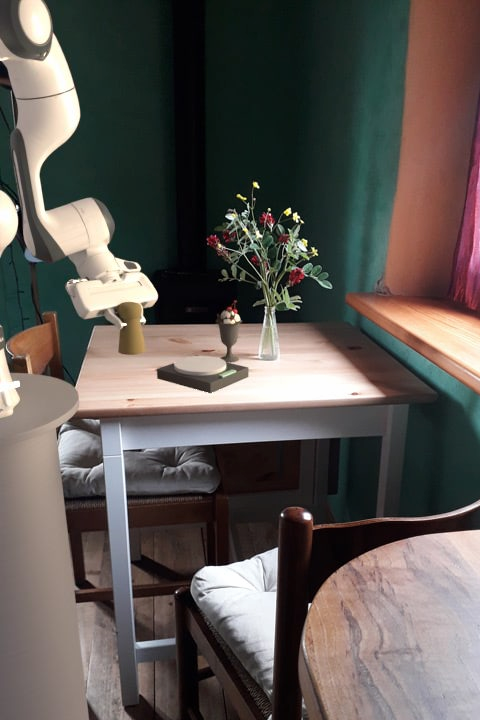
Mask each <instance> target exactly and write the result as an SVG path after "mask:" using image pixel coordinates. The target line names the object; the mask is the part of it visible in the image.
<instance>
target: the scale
mask: <svg viewBox="0 0 480 720" xmlns="http://www.w3.org/2000/svg"><path fill="white" fill-rule="evenodd" d="M220 358H221V357H217V356H212V355H211V356H210V355H198V354H195V355H192V356H186V357H182V358H179V359H177V360H176V361H175V362H172V363H170V364H167V365H163V366H161V367H158V368H156V378H157V380H161V381H164V382H168V383H172V384H175V385H179V386H181V387H182V386H183V387H185V388H190V389H193V390H196V389H197V391H200V392H203V391H204V393H207V392H208V393H207V394H213V393H215V392H218V391H219V389H220V390H222V389H224V388H227V387H229V386H231V385H234V384H236V383H238V382H240V381H242V380H245V379H247V378H249V373H250V371H249V370H250V369H249V367H248V366H244V365H241V364H236V363H233V362H225V361H224V360H223V359H220ZM212 392H213V393H212Z"/></svg>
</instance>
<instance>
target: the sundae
mask: <svg viewBox="0 0 480 720" xmlns="http://www.w3.org/2000/svg"><path fill="white" fill-rule="evenodd" d="M237 302H238V300H234V301H233V303H232V305H234V306H233V307H234V309H232V306H228V307H227V308H226V309H225V310H223V311H222V312H221V314H219V313H217V314H216V317H217V319H216V320H215V324H216V325H218V329H219V336H220V341H221V343H222V344H223V345H224V346H225V347H226V354H225V355H224V356H221V357H219V358H220V359H223V360H224V361H225V362H228V363H235V362H238V361H239V360H240V358H239V357H238V356H234V355H233V351H232V348H233V346H234V345H236V343H237V342H238V337H239V330H240V325H241V323H243V320H241V317H240V315H239V314H238V310H237V309H236V303H237Z"/></svg>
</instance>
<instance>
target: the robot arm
mask: <svg viewBox="0 0 480 720" xmlns="http://www.w3.org/2000/svg"><path fill="white" fill-rule="evenodd" d="M0 61H1V62H2V63H3V65H4V66H5V68H6V70H7V73H8V77H9V81H10V85H11V89H12V91H13V94H14V97H15V100H16V101H15V102H16V104H17V123H16V127H15V128H14V129H13V130H12V132H11V133H10V138H9V139H10V143H9V144H10V153H11V159H12V167H13V173H14V178H15V179H14V180H15V185H16V189H17V195H18V200H19V206H20V212H21V222H22V231H23V240H24V244H25V245H26V247H27V250H28V251H29V252H30V254H31V256H32V257H33V258H34V259H37V260H39V261H41V262H43V263H44V262H45V263H48V264H54V263H56V262H58V261H61V260H63V259H65V258H66V257H68V258H69V260H70V262H72V263H73V264H74V266H75V268H76V272H77V274H78V276H79V278H76V279H75V278H71V279H69V280H68V281H67V282H66V283H65V290H66V292H67V294H68V295H69V296H70V299H71V302H72V304H73V307H74V309H75V311H76V313H77V315H78V317H80V318H81V319H83V320H88V319H93V318H99V317H104V318H105V319H106V320H107V321H108V322H110V323H111V324H113V325H114V326H115V327H116V329H117V330H118V331H120V330H121V329H124V328H125V327H126V326H127V325H126V323H125V321H124V320H123V319H121V317H118V316H117V315H116V314H118V306H119V305H120V304H121V303H124V302H136V303H139V304H140V305H141V307H142V314H141V316H140V322H141V326H143V325H145V324H146V323H147V322H146V321H147V320H146V318H145V316H144V309H147V308H151V307H153V306H154V305H155V303H156V302H157V301H158V298H159V294H158V292H157V290H156V288H155V287H154V284H153V283H152V282H151V281H150V279H149V277H148V276H147V275H146V274H144V273H143V272H141V270H142V267H141V265H140V264H139V263H138V262H137V261H136V262H135V261H129V260H126V259H121V258H118V257H116V256H115V255H114V254H113V253H112V252H111V251H110V250H109V248H108V244H111V240H112V239H113V235H114V234H115V229H116V225H115V221H114V218H113V217H112V214H111V212H110V211H109V209H108V207H107V206H106V205H105V203H103V202H102V201H100V200H99V199H97V198H94V197H91V196H90V197H85V198H83V199H79V200H75V201H72V202H70V203H67V204H64V205H61V206H59V207H55V208H53V209H49V210H45V204H44V197H43V196H44V195H43V191H42V184H41V177H40V173H41V169H42V166H43V164H44V162H45V161H46V160H47V158H48V157H49V156H50V155H51V154H52V153H53V152H54V151H56V150H57V149H58V148H59V147H61V146H62V145H64V144H65V143H66V142H67V141H68V140H69V139H70V138H71V137H72V135H73V134H74V133H75V131H76V130H77V127H78V125H79V124H80V123H79V122H80V119H81V108H80V101H79V98H78V94H77V90H76V87H75V83H74V80H73V77H72V73H71V70H70V68H69V65H68V62H67V60H66V56H65V54H64V52H63V49H62V47H61V45H60V43H59V40H58V39H57V36H56V35H55V33H54V26H53V19H52V16H51V12H50V9H49V7H48V5H47V3H46V1H45V0H0ZM18 226H19V216H18V212H17V209H16V206H15V204H14V202H13V201H12V198H11V197H10V196H9V195H8V194H7V193H6V192H4V191H3V190H1V189H0V258H1V257H2V255H3V252H4V251H5V249H6V248H7V246H9V245H10V244H12V242H13V240H14V238H15V236H16V235H17V231H18ZM6 348H7V347H6V338H5V333H4V327H3V326H2V325H1V324H0V418H3V417H7V416H10V415H12V414H13V408H14V407H15V406H16V405H17V404H18V403H19V401H20V397H19V395H18V393H17V391H16V389H15V387H19V386H20V385H19V381H16V382H12V379H11V376H10V373H11V372H10V369H9V366H8V361H7V357H6V350H7V349H6Z"/></svg>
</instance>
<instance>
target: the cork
mask: <svg viewBox="0 0 480 720" xmlns="http://www.w3.org/2000/svg"><path fill="white" fill-rule="evenodd" d="M117 314H118V316H119V318H120V319H123V320H124V321H125V323H126V325H127V326H126V327H125V328H124V329H121V330H119V339H118V352H117V353H119V354H120V355H126V356H135V355H141V354H145V353H146V351H147V350H146V345H145V339H144V338H145V337H144V334H143V333H144V332H143V328H142V325H141V322H140V316H141V314H142V307H141V305H140V304H139V303H136V302H124V303H121V304H120V305H119V306H118V313H117Z"/></svg>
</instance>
